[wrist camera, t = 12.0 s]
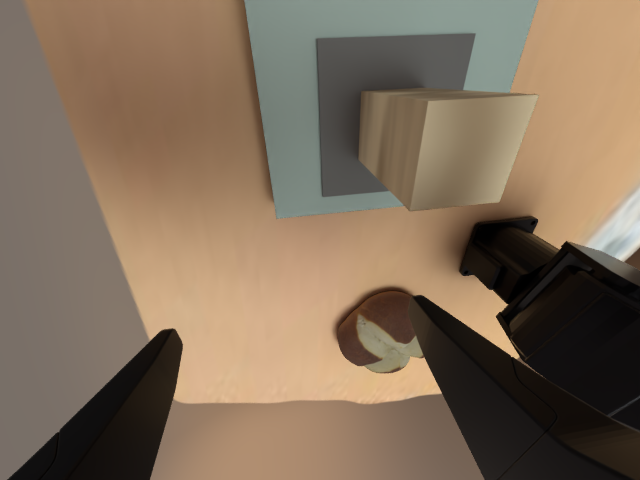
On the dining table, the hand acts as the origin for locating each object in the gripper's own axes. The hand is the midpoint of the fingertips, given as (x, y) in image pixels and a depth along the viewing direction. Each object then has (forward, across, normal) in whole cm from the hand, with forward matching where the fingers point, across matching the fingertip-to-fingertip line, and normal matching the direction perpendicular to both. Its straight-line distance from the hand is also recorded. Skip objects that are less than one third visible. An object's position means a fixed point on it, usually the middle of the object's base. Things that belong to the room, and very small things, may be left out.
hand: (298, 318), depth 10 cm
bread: (+14, -10, +18) cm, 25 cm away
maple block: (+10, -7, -5) cm, 13 cm away
